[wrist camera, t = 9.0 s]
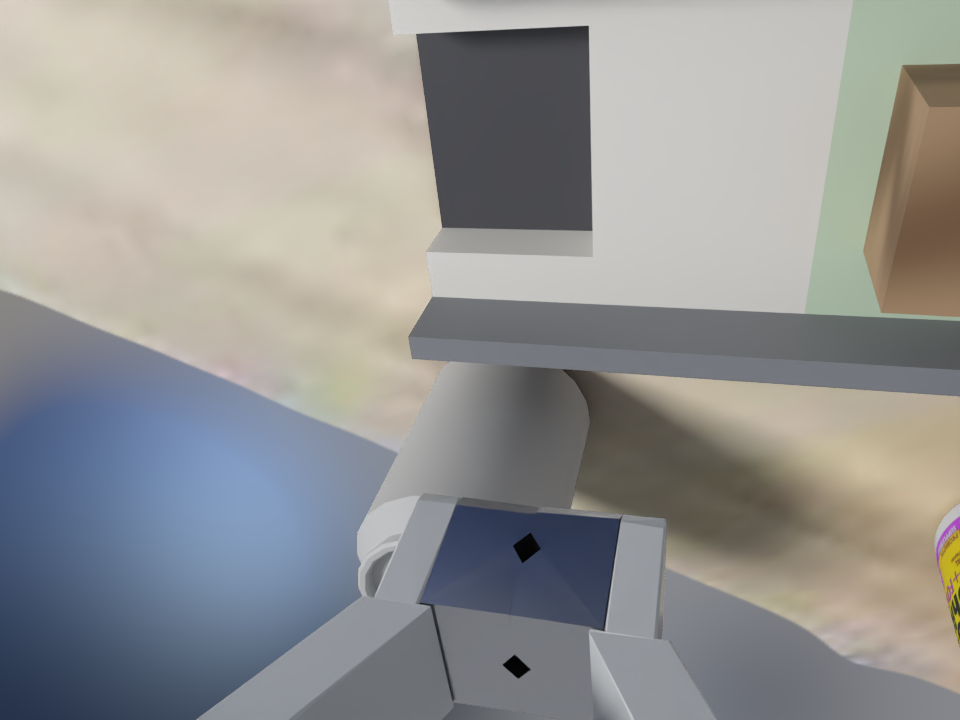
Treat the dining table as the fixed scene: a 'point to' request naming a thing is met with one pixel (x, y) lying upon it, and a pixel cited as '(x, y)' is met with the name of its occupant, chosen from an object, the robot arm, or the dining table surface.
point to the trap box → (671, 187)
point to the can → (480, 450)
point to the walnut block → (919, 198)
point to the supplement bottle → (950, 561)
